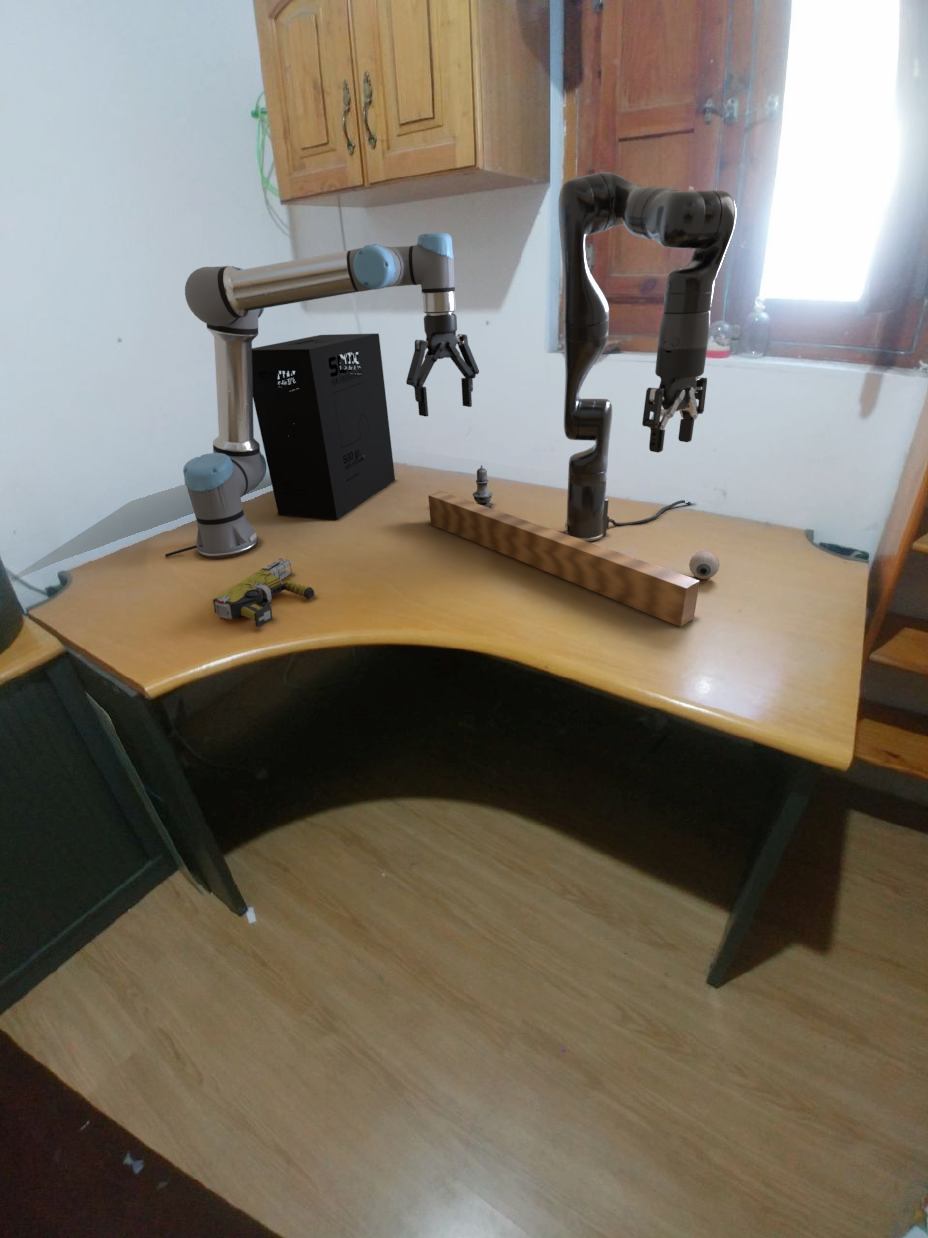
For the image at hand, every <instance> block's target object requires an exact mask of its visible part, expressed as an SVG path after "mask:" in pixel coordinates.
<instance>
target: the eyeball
mask: <svg viewBox="0 0 928 1238" xmlns="http://www.w3.org/2000/svg"><path fill="white" fill-rule="evenodd" d="M688 566H689V571H690V573H691V574H692V575H693V576H694V577H695V578H697V579H701V580H708V579H711V578H713V577H714V576H715V575H716V574H717V573H718V572H719V569H720V559H719V558H718V556H717V555H716V554H715V553H714V552H712V551H709V550H701V551H698V552H696V553H694V554H693V555H692V556H691V558H690V560H689V564H688Z"/></svg>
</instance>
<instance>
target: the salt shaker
mask: <svg viewBox="0 0 928 1238" xmlns="http://www.w3.org/2000/svg"><path fill="white" fill-rule="evenodd" d="M475 482H476V491H474V492H473V493H472V497H473V500H474V501H475V503H477V504H479V505H482V506H485V507H488V508H492V507H493V504H492V503H490V501H491V500H492V496H493V495H494V493H493V492H492V491H490V490H489V488H488V486H489V485H488V482H489V480H488V471H487V469H486V468H484V467H483V464H482V465H480V468H477V470H476V480H475Z"/></svg>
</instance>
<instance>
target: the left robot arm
mask: <svg viewBox="0 0 928 1238" xmlns="http://www.w3.org/2000/svg"><path fill="white" fill-rule="evenodd" d="M418 285H419V286H420V288H421V300H422V312H423V313H424V314H425V315H424V317H423V328H424V333H425V336H426V337H425V340H424V339H415V341H414V351H413V356H412V359H411V363H410V365H409V366H410V367H409V370H408V373H407V377H406V381H405V383H406V385H408V386H411V387H413V390H414V399H415V402H417V406H418V407H417V408H418V416H421V417H426V418H427V417H429V407H428V393H427V387H426V386H424V385H425V383H426V381H427V379H428V377H429V375H430V373H431V371H432V368H433V367H434V365H435V363H436V362H437V361H438V360H443V359H444V358H446V359H449V358H450V360H451V361H452V362H453V364H454V365H455V366H456V367H457V369H458V370H459V372H460V373H461V374H462V376H463V377H461V378H460V380H461V382H460V383H461V399H462V406H463V407H467V408H472V407H473V399H472V397H473V396H472V393H473V391H474V381H473V379H476V376H477V375H478V374H480V369H479V367H478V365H477V362H476V360H475V357H474V355H473V352H472V350H471V348H470V345H469V339H468V335H467V334H465V333H464V334H463V333H458V334H457V333H456V332H457V331H458V320H457V319H458V318H457V315H456V314H455V312H456V311H457V299H456V298H457V297H456V283H455V256H454V248H453V239H452V236H451V235H450V234H449V233H447V232H429V233H421V234H419V235H418V236H417V242H416V244H414V245H409V246H385V245H380V244H376V243H373V244H368V245H367V244H366V245H364V246H363V247H359V248H355V249H350V250H349V249H348V250H342V251H337V252H332V253H326V254H321V255H315V256H311V257H304V258H299V259H293V260H288V261H282V262H277V263H271V264H266V265H261V266H256V267H249V268H241V267H238V266H234V265H233V266H231V265H224V266H202V267H199V268H197V269H195V270H193V271H192V272H191V273H190V274H189V276H188V277H187V279H186V282H185V286H184V296H185V301H186V304H187V306H188V308H189V309H190V311H191V312H192V313H193V315H194V316H195V317H196V318H197V319H199V320H200V321H201V322H203V323H204V324H206V330H208V332H209V333H210V334H212V336H213V345H214V346H213V347H214V364H215V365H214V366H215V385H216V386H215V387H216V406H217V408H216V409H217V424H218V425H217V427H218V436H217V437H216V438H214V439H213V441H212V453H211V452H210V453H205V454H201V455H200V456H195V457H193V458H191V459H190V460H188V461H187V462H186V463H185V464H184V465H183V468H182V472H183V477H184V478H183V479H184V485H185V486H186V490H187V492H188V495H189V499H190V502H191V506H192V509H193V513H194V517H195V520H196V523H197V531H196V545H192V546H188V547H185V548H182V549H177V550H175V551H171V552H168V553H165V554H164V556H165V558H167V557H170V556H174V555H178V554H180V553H185V552H187V551H192V550H195V549H196V550H197V554H198V555H199V556H200V557H201V558H204V559H208V560H224V559H225V560H226V559H230V558H235V557H240V556H243V555H245V554H247V553H249V552H251V551H253V550H254V549H256V548H257V547H258V546H259V538H258V535H257V533H256V531H255V530H254V528H253V526H252V525H251V522H250V521H249V520H248V519H247V517H246V515H245V510H244V507H243V504H242V499H241V498H242V497H244V496H245V495H246V494H248V493H250V492H251V491H253V490H255V489H256V488H257V487H258V486H259V485H260V484H261V482H263V480H264V479H265V476H266V474H267V460H266V457H265V456H264V455H263V454H262V452H261V445H260V442H258V441H257V439H255V436H254V433H255V432H254V431H255V430H254V400H253V379H252V348H253V341H254V340H255V338H257V337H258V336H259V318H261V316H262V314H263V313H264V310H265V309H267V308H273V307H278V306H285V305H289V304H290V305H291V304H296V303H301V302H308V301H314V300H317V299H318V300H319V299H325V298H331V297H337V296H342V295H348V294H354V293H360V292H361V293H363V292H367V291H373V290H374V291H376V290H381V289H382V290H383V289H385V288H393V287H404V286H405V287H406V286H418ZM457 347H458V348H457ZM426 350H427V351H426Z"/></svg>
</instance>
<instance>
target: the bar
mask: <svg viewBox="0 0 928 1238" xmlns="http://www.w3.org/2000/svg"><path fill="white" fill-rule="evenodd" d="M427 498H428V508H429V520H430V521H429V522H430V525H433V526H435V527H437V528H440V529H442V530H445V531H447V532H450V533H452V534H454V535H457V536H459V537H461V538H464V539H467V540H469V541H471V542H474V543H476V544H479V545H481V546H483V547H486V548H488V549H491V550H492V551H495V552H497V553H500V554H503V555H505V556H507V557H510V558H512V559H515V560H517V561H520V562H522V563H524V564H527V565H530V566H531V567H534V568H536V569H539V570H541V571H545V572H547V573H549V574H551V575H553V576H555V577H558V578H561V579H563V580H566V581H568V582H570V583H573V584H575V585H578V586H580V587H583V588H585V589H587V590H590V591H592V592H595V593H597V594H600V595H601V596H604V597H606V598H609V599H612V600H614V601H616V602H619V603H621V604H624V605H626V606H629V607H631V608H634V609H635V610H638V611H641V612H643V613H646V614H648V615H651V616H653V617H655V618H658V619H660V620H662V621H665V622H667V623H669V624H673V625H675V626H677V627H679V628H681V627H683V626H685V625H686V624H688V623H689V622H691V621H693V620H694V619H695V613H696V608H697V603H698V602H697V601H698V595H699V589H700V582H701V580H699V579H698V578H697V579H696V578H694V577H691V576H688V575H685V574H681V573H679V572H677V571H674V570H671V569H667V568H665V567H662V566H659V565H656V564H653V563H650V562H647V561H644V560H643V559H642V560H641V559H638V558H635V557H632V556H630V555H627V554H625V553H622V552H618V551H616V550H614V549H613V550H612V549H609V548H607V547H604V546H601V545H598V544H595V543H592V542H590V541H584V540H581V539H578V538H575V537H572V536H569V535H566V533H563V532H561V531H558V530H555V529H552V528H549V527H547V526H543V525H540V524H537V523H535V522H532V521H528V520H525V519H522V518H519V517H517V516H514V515H512V514H508V513H505V512H504V511H503V512H502V511H499V510H496V509H494V508H492V507H490V508H488V507H485V506H482V505H479V504H477V502H474V501H470V500H468V499H465V498H462V497H459V496H456V495H453V494H450V493H448V492H444V491H442V490H441V491H437V492H434V493H431V494H428V497H427Z"/></svg>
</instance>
